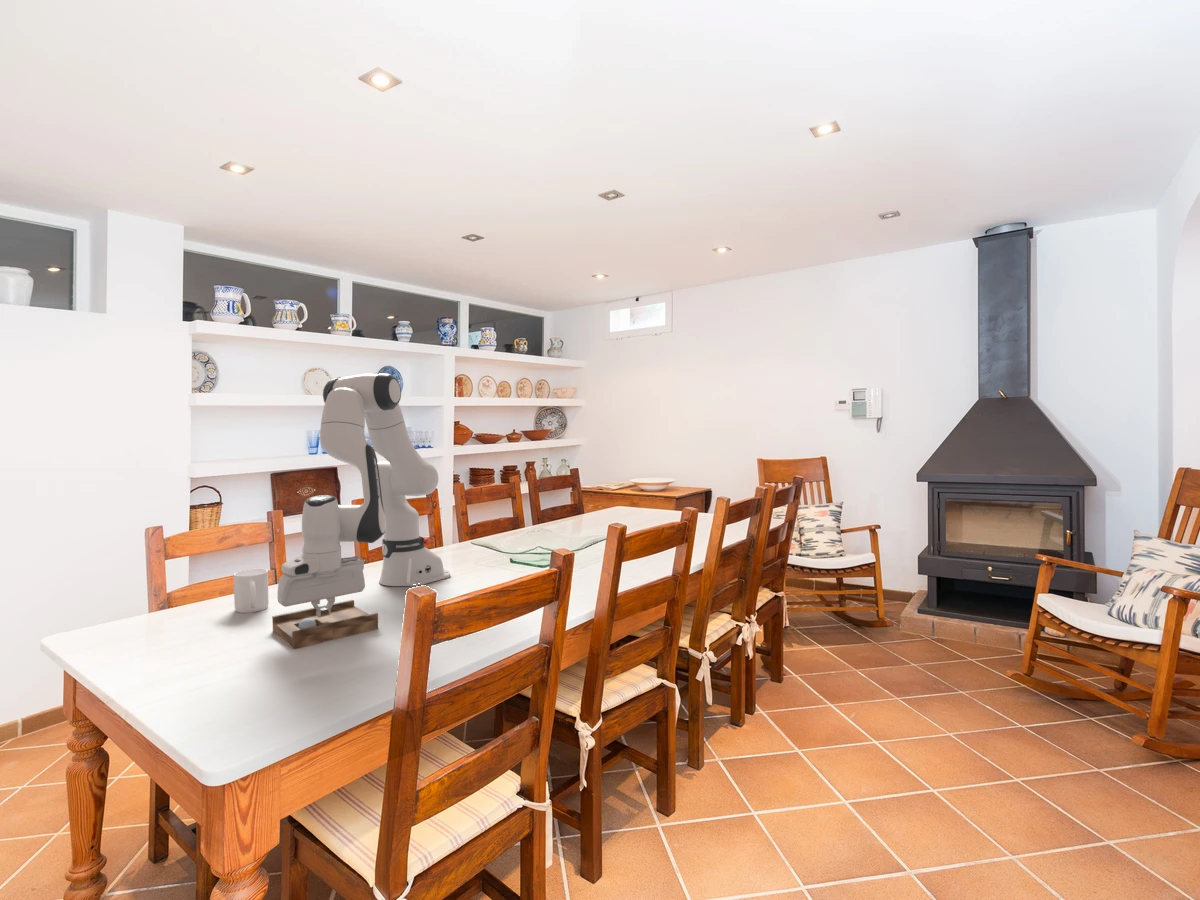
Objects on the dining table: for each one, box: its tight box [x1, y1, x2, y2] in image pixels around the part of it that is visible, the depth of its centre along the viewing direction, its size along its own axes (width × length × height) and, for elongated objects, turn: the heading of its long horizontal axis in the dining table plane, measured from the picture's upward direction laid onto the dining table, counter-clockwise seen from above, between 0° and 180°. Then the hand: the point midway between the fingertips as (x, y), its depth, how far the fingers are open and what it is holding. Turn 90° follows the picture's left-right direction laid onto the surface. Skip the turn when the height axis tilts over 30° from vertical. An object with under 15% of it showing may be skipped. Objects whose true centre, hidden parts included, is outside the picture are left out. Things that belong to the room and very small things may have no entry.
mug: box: [233, 568, 270, 614], centre depth 170 cm, size 12×8×10 cm
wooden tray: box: [271, 599, 379, 650], centre depth 155 cm, size 20×16×4 cm
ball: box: [298, 618, 316, 629], centre depth 152 cm, size 4×4×4 cm
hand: (323, 616), depth 154 cm, fingers closed
